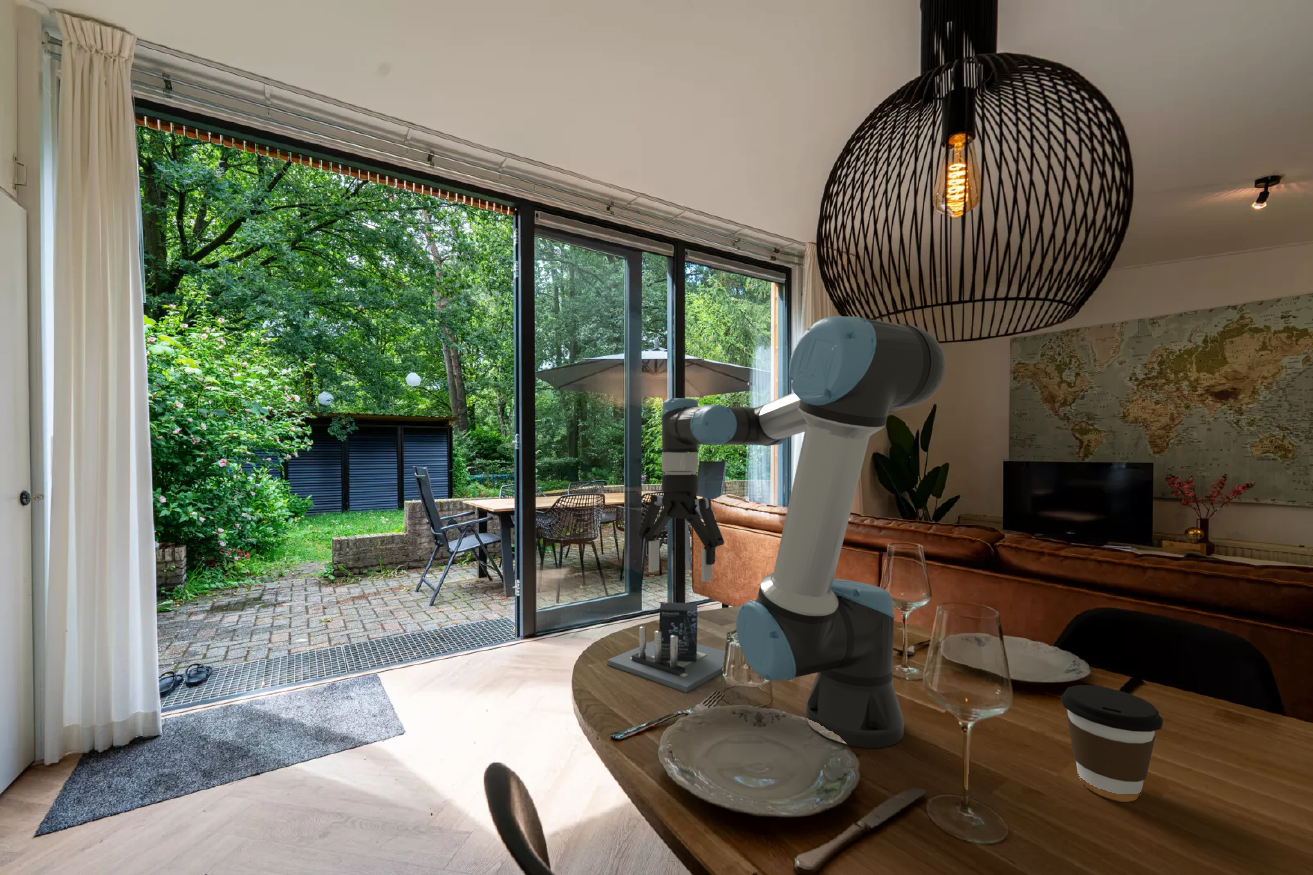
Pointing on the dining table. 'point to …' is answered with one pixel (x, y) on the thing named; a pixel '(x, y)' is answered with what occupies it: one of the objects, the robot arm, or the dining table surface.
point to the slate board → (695, 672)
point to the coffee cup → (1111, 736)
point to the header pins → (658, 653)
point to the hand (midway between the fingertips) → (679, 576)
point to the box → (679, 629)
